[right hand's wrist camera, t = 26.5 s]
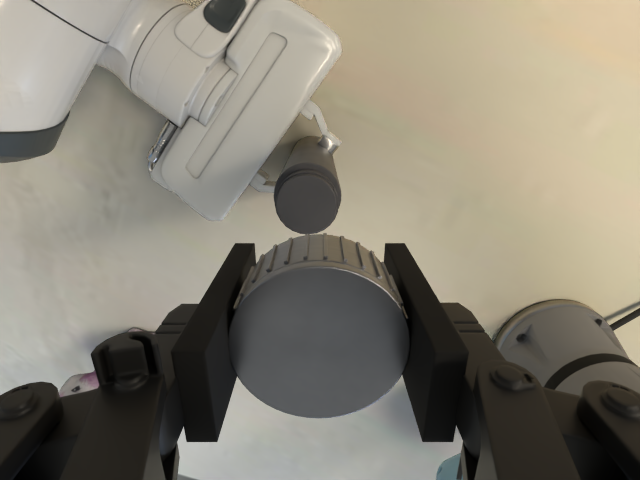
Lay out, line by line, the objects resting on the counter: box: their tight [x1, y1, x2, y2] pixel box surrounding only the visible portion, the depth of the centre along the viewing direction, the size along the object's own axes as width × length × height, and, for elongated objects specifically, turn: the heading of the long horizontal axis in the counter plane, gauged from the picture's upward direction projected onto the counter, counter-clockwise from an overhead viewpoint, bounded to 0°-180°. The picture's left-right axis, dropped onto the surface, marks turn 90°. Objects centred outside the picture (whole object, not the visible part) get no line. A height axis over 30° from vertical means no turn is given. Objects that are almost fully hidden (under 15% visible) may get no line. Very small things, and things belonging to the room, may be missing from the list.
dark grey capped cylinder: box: [274, 136, 341, 234], centre depth 31 cm, size 4×4×20 cm
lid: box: [228, 233, 411, 418], centre depth 11 cm, size 5×5×2 cm
